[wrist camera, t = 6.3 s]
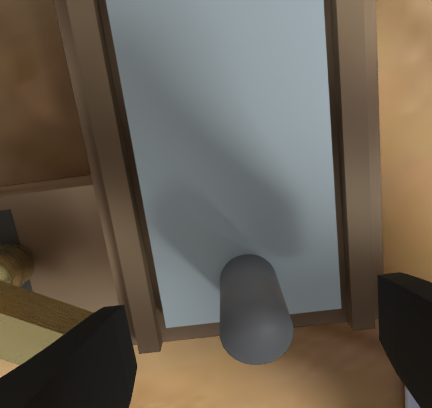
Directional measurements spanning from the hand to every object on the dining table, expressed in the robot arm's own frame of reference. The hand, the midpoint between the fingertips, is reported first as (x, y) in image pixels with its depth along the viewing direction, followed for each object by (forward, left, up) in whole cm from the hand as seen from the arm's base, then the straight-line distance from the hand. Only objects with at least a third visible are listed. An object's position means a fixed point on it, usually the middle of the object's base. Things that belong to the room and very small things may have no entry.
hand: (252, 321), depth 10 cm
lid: (+4, 0, -3) cm, 6 cm away
